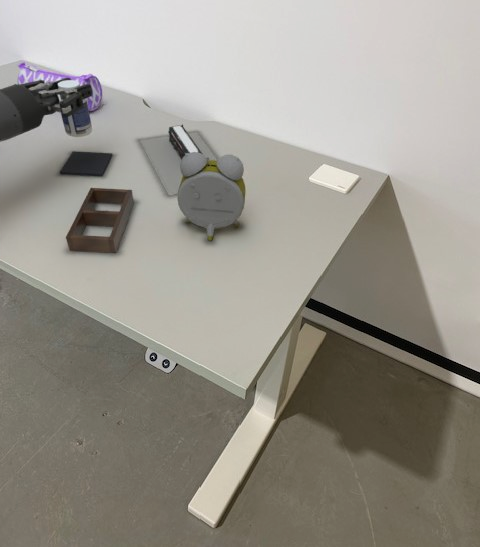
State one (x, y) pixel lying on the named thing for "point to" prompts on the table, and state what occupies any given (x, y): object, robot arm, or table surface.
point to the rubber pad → (86, 163)
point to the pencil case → (35, 74)
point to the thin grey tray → (173, 154)
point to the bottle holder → (100, 220)
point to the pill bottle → (76, 114)
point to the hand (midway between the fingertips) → (80, 86)
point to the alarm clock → (211, 191)
